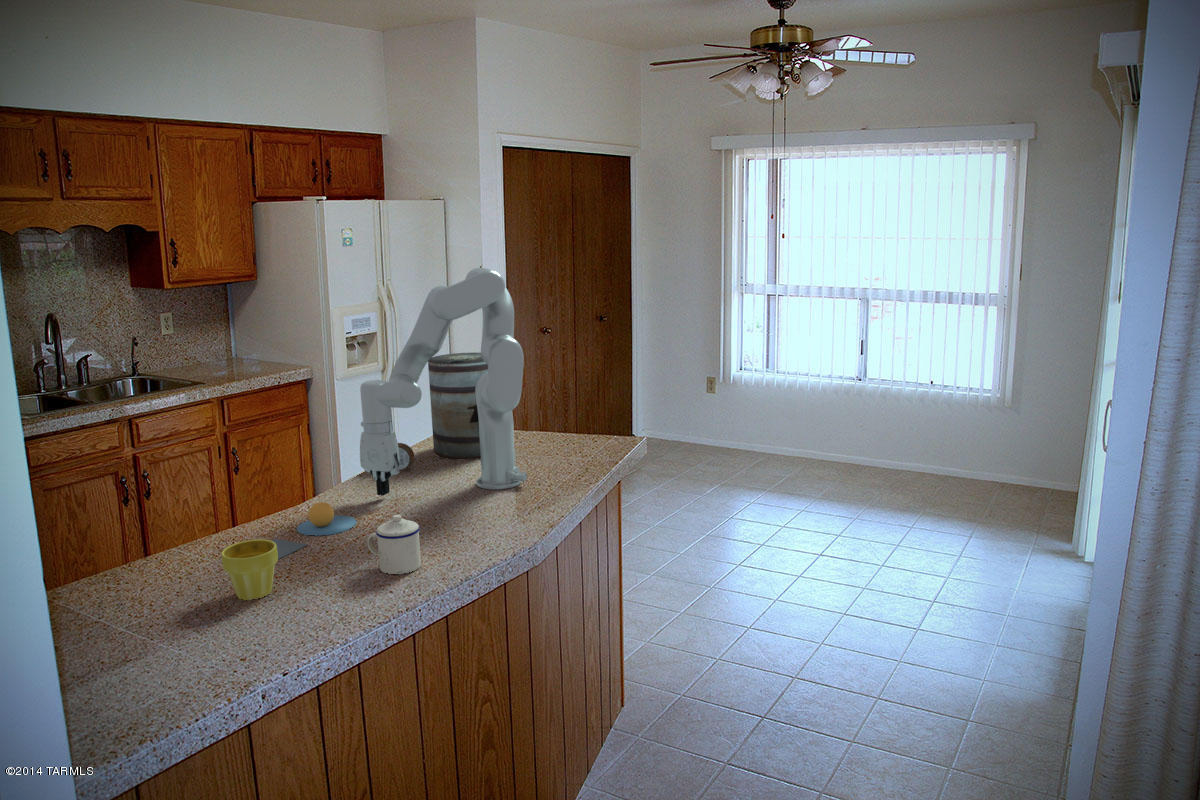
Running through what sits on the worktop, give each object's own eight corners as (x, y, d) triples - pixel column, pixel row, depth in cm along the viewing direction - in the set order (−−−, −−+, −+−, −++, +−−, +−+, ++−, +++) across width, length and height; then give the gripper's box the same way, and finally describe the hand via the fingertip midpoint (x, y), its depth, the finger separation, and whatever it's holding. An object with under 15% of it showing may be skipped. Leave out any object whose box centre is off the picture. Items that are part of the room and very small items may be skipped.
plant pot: (248, 609, 171) (243, 561, 169) (215, 598, 177) (209, 552, 174) (292, 589, 180) (287, 544, 178) (259, 579, 185) (254, 535, 183)
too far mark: (308, 545, 204) (307, 544, 204) (275, 560, 195) (275, 560, 195) (275, 539, 208) (275, 538, 208) (242, 554, 199) (242, 553, 199)
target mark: (368, 520, 220) (368, 519, 220) (329, 539, 208) (329, 538, 208) (324, 513, 226) (324, 512, 226) (284, 531, 213) (284, 530, 213)
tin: (415, 469, 264) (413, 442, 262) (412, 472, 261) (410, 444, 259) (367, 469, 266) (364, 442, 264) (363, 472, 262) (361, 444, 261)
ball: (332, 498, 215) (317, 515, 211) (342, 516, 218) (328, 533, 214) (314, 496, 218) (299, 512, 214) (324, 513, 221) (310, 530, 217)
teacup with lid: (429, 561, 193) (426, 510, 190) (409, 577, 184) (405, 524, 182) (380, 556, 196) (376, 506, 194) (358, 572, 188) (354, 520, 185)
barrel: (508, 455, 276) (504, 361, 270) (436, 462, 271) (429, 366, 264) (499, 438, 297) (495, 350, 291) (432, 444, 292) (426, 355, 286)
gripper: (346, 428, 232) (352, 495, 236) (392, 432, 226) (397, 501, 229) (364, 422, 239) (370, 487, 242) (410, 426, 232) (414, 492, 236)
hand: (383, 493), depth 236 cm, fingers closed
